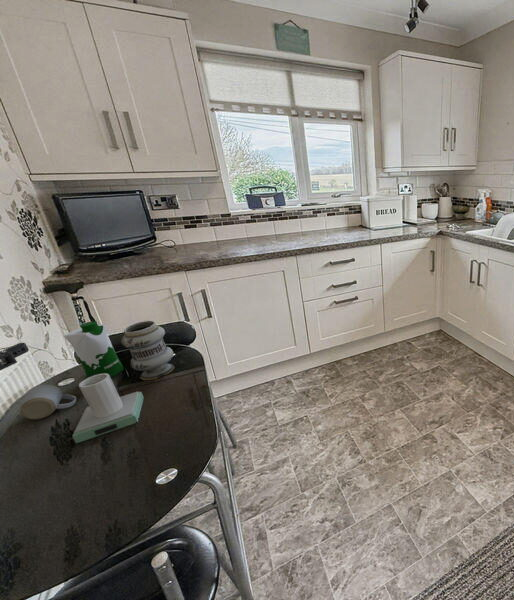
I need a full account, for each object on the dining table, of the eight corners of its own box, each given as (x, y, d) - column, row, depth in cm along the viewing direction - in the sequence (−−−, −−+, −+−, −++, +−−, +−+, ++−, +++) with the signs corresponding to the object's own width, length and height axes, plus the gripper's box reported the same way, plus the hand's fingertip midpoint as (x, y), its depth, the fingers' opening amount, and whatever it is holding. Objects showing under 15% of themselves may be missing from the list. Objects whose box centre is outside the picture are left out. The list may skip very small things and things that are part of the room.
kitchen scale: (75, 444, 83) (70, 435, 82) (89, 415, 94) (85, 406, 93) (137, 423, 89) (133, 414, 88) (143, 397, 100) (140, 389, 99)
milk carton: (107, 382, 110) (82, 329, 103) (82, 383, 111) (55, 330, 104) (128, 367, 119) (106, 317, 111) (105, 368, 119) (82, 319, 112)
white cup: (91, 421, 87) (75, 390, 83) (97, 408, 92) (82, 378, 88) (120, 411, 90) (106, 381, 86) (124, 400, 95) (111, 370, 91)
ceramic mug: (25, 425, 92) (12, 403, 89) (32, 411, 98) (20, 389, 95) (75, 409, 98) (64, 387, 95) (79, 396, 104) (69, 375, 101)
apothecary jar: (143, 386, 106) (122, 337, 100) (132, 375, 113) (111, 329, 107) (183, 368, 115) (166, 322, 108) (170, 359, 122) (154, 315, 115)
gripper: (-74, 374, 53) (30, 329, 68) (-160, 380, 53) (-37, 334, 68) (-48, 411, 56) (47, 360, 71) (-129, 417, 56) (-18, 365, 71)
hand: (5, 347), depth 69 cm, fingers open, 8 cm apart
